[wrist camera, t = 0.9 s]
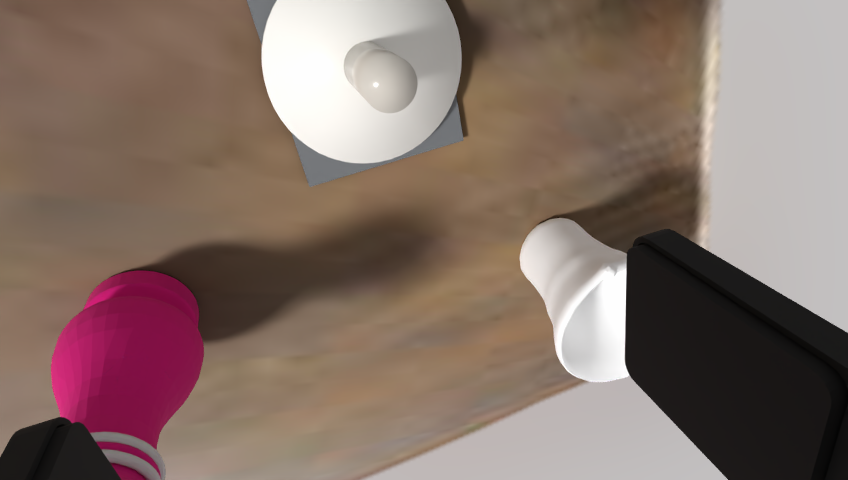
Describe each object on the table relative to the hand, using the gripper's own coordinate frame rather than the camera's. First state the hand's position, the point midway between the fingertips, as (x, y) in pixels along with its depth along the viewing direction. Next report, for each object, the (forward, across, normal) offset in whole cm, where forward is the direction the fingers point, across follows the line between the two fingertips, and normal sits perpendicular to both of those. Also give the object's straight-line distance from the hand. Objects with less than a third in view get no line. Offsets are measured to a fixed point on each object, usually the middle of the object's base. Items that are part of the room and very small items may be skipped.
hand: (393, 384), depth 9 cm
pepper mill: (+24, +12, +10) cm, 29 cm away
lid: (+23, -4, -2) cm, 24 cm away
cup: (+25, -15, +15) cm, 32 cm away
